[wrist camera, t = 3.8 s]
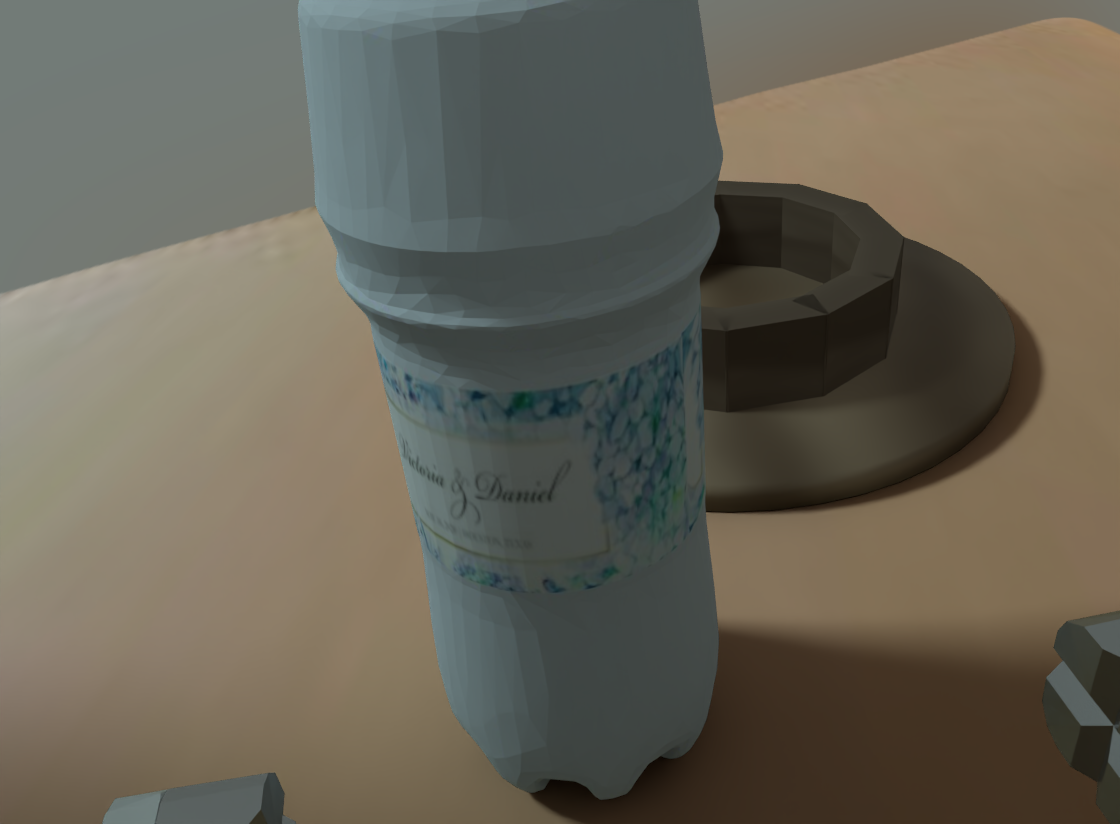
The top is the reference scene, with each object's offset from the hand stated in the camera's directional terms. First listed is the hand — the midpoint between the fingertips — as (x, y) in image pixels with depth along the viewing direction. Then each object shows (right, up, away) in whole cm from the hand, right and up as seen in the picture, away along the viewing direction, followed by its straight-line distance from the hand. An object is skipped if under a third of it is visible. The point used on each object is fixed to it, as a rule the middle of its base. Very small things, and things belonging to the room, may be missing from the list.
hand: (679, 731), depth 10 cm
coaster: (+5, +6, +28) cm, 29 cm away
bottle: (-1, -4, +14) cm, 14 cm away
